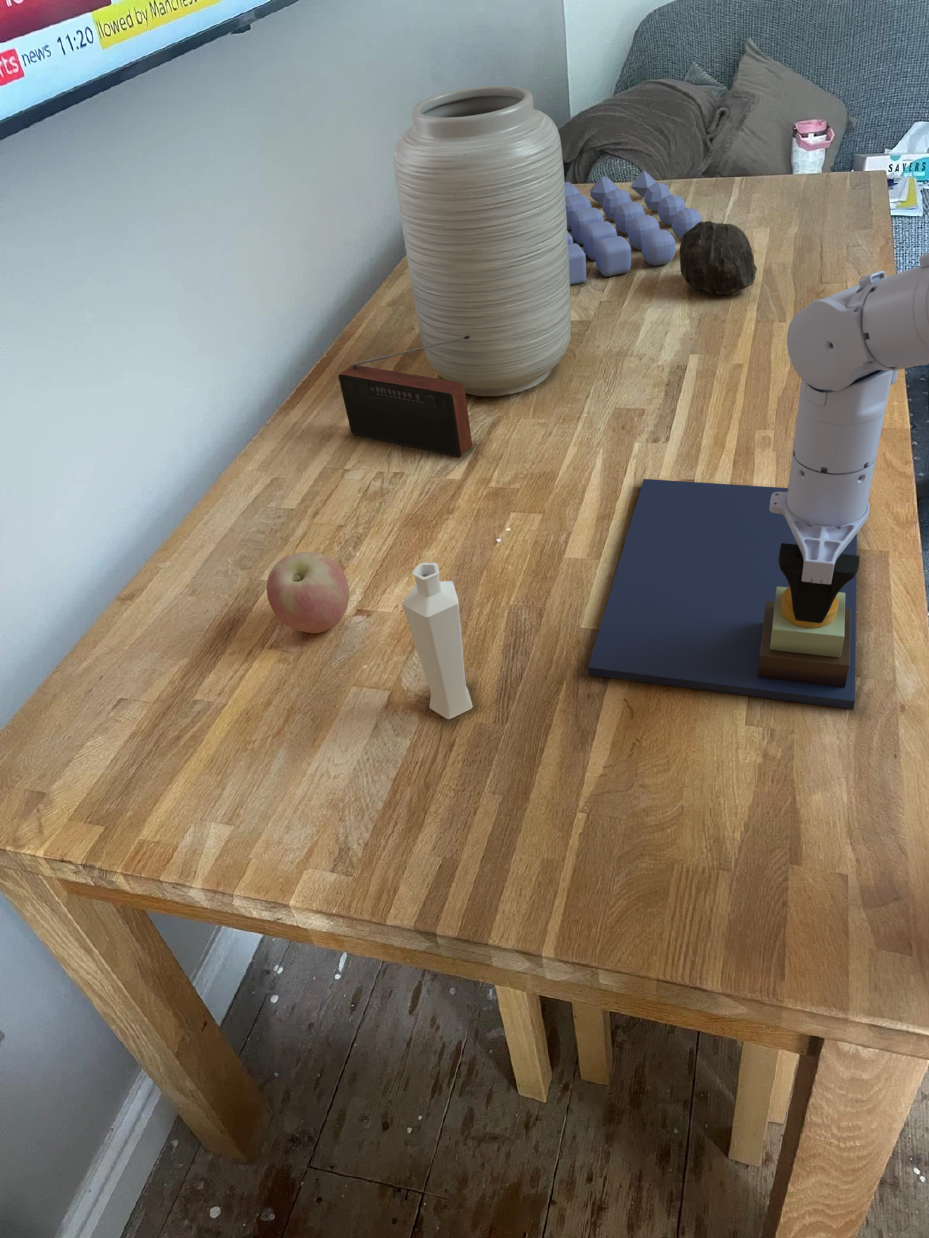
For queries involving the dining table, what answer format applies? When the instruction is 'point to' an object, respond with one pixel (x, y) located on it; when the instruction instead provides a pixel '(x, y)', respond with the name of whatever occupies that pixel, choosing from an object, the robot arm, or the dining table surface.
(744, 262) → the rock
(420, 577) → the perfume bottle
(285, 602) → the apple
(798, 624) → the cone
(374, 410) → the radio
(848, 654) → the block stack
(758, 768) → the dining table surface
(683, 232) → the blocks
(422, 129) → the vase
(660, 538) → the board
